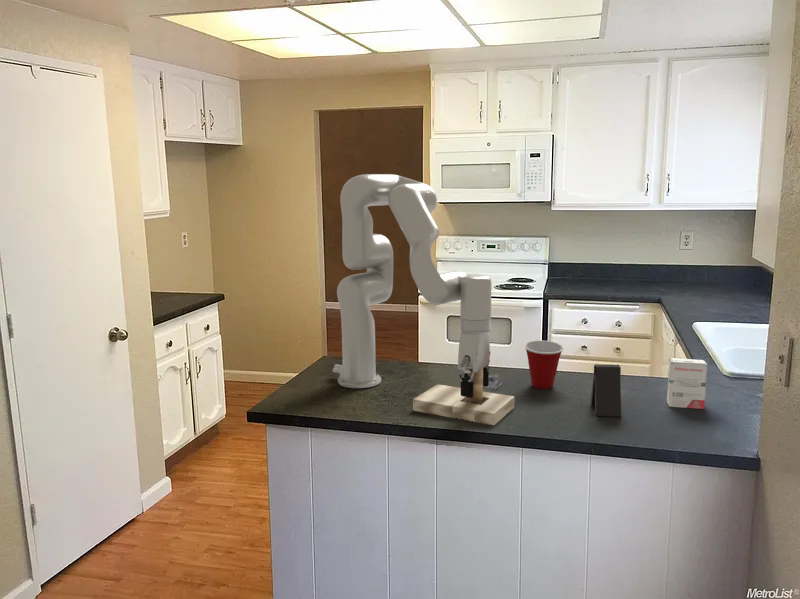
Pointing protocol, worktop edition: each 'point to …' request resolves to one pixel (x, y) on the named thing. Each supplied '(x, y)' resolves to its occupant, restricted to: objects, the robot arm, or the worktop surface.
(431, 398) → the board
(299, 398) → the worktop surface
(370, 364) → the robot arm
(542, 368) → the plastic cup
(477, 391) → the peg
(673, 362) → the ink box
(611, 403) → the phone stand
